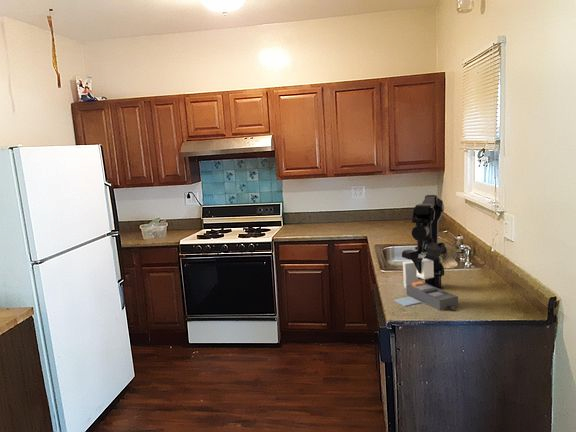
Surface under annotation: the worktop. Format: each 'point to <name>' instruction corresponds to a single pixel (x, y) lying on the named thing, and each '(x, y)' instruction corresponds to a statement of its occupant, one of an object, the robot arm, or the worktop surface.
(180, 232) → the worktop surface
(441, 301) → the gray recessed block
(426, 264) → the block
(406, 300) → the mat
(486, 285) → the worktop surface
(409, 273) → the skincare box
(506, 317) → the worktop surface
